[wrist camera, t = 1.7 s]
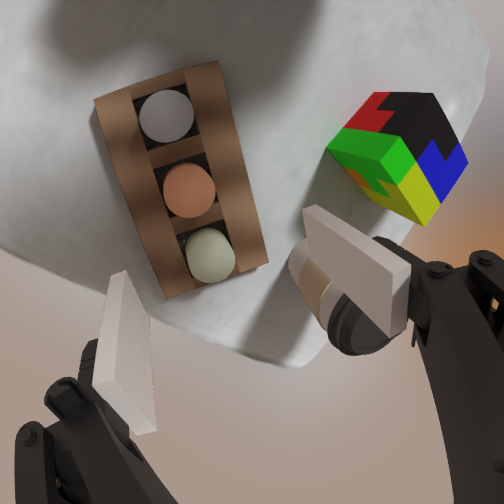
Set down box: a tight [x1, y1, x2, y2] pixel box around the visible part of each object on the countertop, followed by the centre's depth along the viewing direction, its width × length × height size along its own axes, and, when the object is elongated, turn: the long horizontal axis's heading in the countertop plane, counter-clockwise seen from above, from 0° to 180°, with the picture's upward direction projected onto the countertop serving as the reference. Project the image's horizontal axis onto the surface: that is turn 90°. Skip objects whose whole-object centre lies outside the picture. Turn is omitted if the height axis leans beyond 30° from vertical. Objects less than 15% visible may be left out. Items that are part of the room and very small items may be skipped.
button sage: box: [185, 228, 235, 283], centre depth 31 cm, size 4×4×3 cm
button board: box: [94, 61, 269, 299], centre depth 30 cm, size 22×12×2 cm, turn 14°
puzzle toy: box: [326, 92, 468, 227], centre depth 31 cm, size 10×10×10 cm
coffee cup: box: [288, 237, 409, 356], centre depth 33 cm, size 9×9×15 cm
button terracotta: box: [163, 162, 215, 218], centre depth 28 cm, size 4×4×3 cm
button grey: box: [140, 90, 194, 142], centre depth 25 cm, size 4×4×3 cm
